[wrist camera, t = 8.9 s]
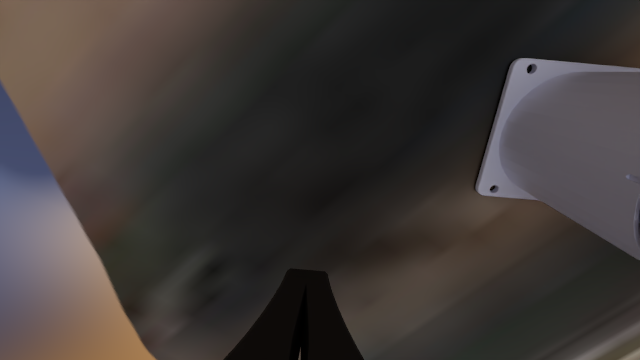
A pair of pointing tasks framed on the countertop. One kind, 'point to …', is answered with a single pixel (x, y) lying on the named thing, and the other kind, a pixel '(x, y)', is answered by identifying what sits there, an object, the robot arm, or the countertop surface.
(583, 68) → the robot arm
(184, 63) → the countertop surface
